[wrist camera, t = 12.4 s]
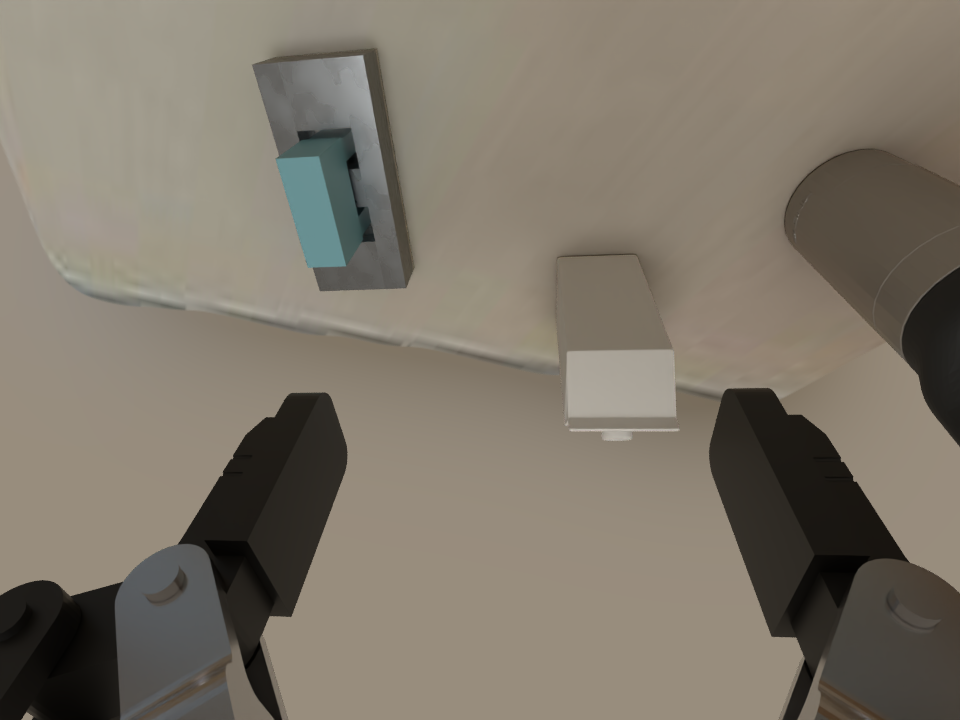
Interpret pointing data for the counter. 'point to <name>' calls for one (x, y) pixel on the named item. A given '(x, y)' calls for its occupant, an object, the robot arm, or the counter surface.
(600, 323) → the milk carton
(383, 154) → the grey socket block
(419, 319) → the counter surface
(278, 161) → the teal elongated block
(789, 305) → the counter surface
